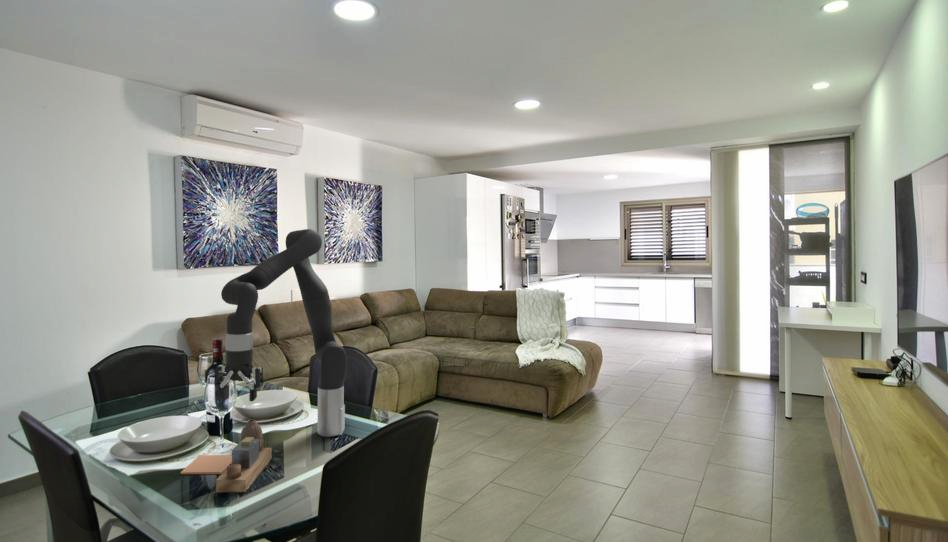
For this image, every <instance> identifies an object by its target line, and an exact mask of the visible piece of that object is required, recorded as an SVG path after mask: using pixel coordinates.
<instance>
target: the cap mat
mask: <svg viewBox="0 0 948 542" xmlns="http://www.w3.org/2000/svg"><path fill="white" fill-rule="evenodd" d="M231 463H232V454H209V455H208V454H207V455H206V454H199V455H198V456H197V457H196V458H194V460H193V461H192V462H189V464H188V465H187V466H186V467H185V468H184V469H182V471H180V475H221V474H222V473H223V472H224V471H225V470H226V469H227V467H228V466H229V465H230V464H231Z"/></svg>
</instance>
